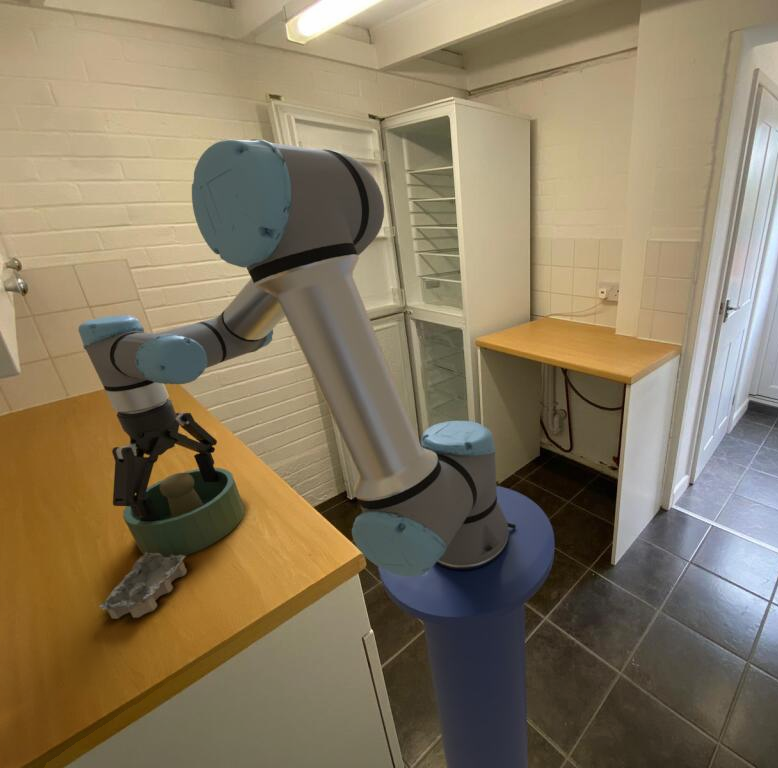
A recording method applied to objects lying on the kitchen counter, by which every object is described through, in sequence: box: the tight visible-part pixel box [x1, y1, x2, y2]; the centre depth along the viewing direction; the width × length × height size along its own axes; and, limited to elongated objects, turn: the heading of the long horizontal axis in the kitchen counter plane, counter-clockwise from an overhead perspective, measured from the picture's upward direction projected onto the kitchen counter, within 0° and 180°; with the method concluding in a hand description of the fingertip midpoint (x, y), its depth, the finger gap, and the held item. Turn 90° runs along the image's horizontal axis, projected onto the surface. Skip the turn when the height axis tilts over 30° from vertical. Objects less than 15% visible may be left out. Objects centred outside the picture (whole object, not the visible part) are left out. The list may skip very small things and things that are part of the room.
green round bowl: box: [122, 467, 245, 557], centre depth 82 cm, size 17×17×8 cm
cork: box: [160, 472, 204, 518], centre depth 81 cm, size 6×6×11 cm
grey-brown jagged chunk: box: [98, 551, 188, 620], centre depth 69 cm, size 11×8×4 cm
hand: (185, 502), depth 81 cm, fingers open, 13 cm apart
